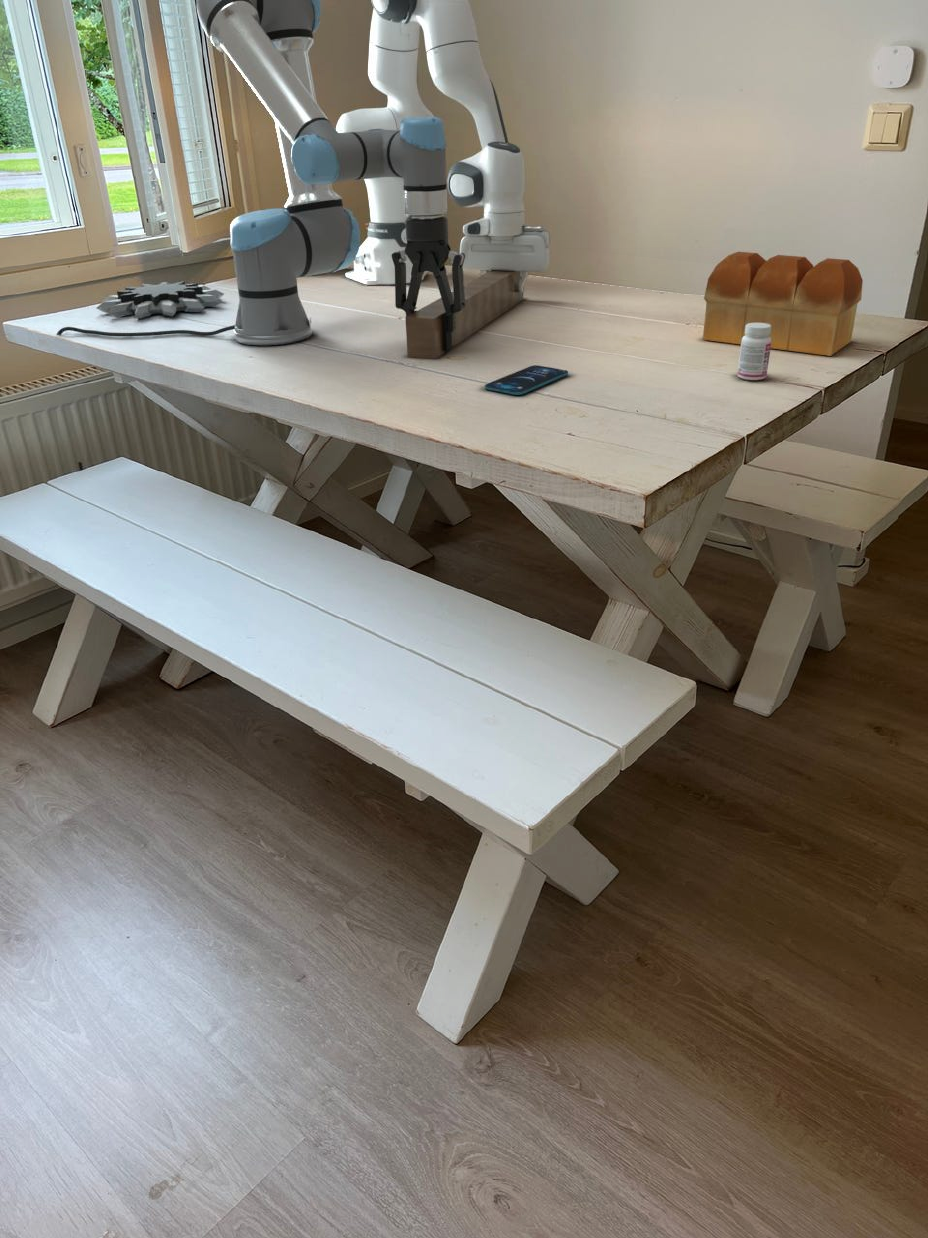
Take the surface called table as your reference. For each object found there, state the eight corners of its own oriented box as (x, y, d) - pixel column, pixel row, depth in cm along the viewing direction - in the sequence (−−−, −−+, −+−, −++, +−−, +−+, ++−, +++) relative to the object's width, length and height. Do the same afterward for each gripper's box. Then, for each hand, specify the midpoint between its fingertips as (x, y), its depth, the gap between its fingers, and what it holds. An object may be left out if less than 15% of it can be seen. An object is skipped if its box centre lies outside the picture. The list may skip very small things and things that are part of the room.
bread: (700, 339, 180) (707, 257, 172) (725, 326, 188) (734, 247, 181) (832, 356, 167) (847, 268, 159) (853, 341, 175) (868, 257, 168)
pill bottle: (768, 380, 155) (775, 328, 150) (738, 380, 155) (744, 328, 151) (765, 372, 159) (772, 321, 155) (736, 372, 160) (742, 321, 155)
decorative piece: (147, 307, 200) (64, 294, 216) (150, 326, 202) (68, 311, 217) (252, 283, 221) (169, 272, 237) (255, 300, 223) (172, 288, 238)
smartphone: (481, 385, 155) (533, 364, 165) (481, 389, 155) (533, 367, 165) (519, 392, 151) (570, 370, 161) (519, 396, 151) (570, 374, 161)
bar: (435, 358, 173) (433, 318, 170) (407, 356, 175) (405, 316, 171) (523, 299, 217) (523, 266, 214) (500, 297, 219) (500, 265, 215)
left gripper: (483, 213, 167) (485, 346, 178) (387, 212, 172) (395, 340, 184) (468, 219, 161) (471, 356, 172) (369, 217, 166) (378, 350, 178)
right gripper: (554, 224, 205) (552, 290, 212) (466, 222, 211) (467, 286, 218) (546, 228, 200) (544, 295, 207) (456, 226, 206) (457, 291, 213)
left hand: (432, 347), depth 178 cm, fingers closed on bar, 6 cm apart
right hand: (504, 291), depth 213 cm, fingers closed on bar, 5 cm apart
